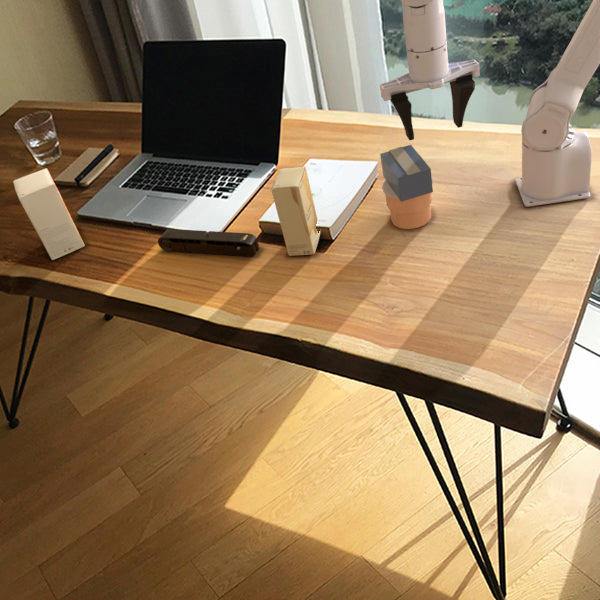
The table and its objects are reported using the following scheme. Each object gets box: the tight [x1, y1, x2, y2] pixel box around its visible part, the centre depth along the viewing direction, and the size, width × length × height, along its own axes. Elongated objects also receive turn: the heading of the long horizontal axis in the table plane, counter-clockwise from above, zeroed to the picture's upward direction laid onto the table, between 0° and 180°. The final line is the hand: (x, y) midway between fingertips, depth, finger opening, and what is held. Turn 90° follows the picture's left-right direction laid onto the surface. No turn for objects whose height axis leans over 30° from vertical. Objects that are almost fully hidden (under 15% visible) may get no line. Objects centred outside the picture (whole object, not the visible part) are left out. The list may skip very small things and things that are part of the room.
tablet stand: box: [157, 228, 260, 257], centre depth 111 cm, size 18×3×3 cm, turn 68°
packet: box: [379, 144, 434, 202], centre depth 102 cm, size 8×5×4 cm, turn 12°
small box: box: [12, 168, 86, 261], centre depth 119 cm, size 8×6×13 cm
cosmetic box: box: [270, 166, 321, 257], centre depth 104 cm, size 6×4×12 cm
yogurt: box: [381, 180, 433, 230], centre depth 105 cm, size 8×8×6 cm
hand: (434, 131), depth 105 cm, fingers open, 7 cm apart
